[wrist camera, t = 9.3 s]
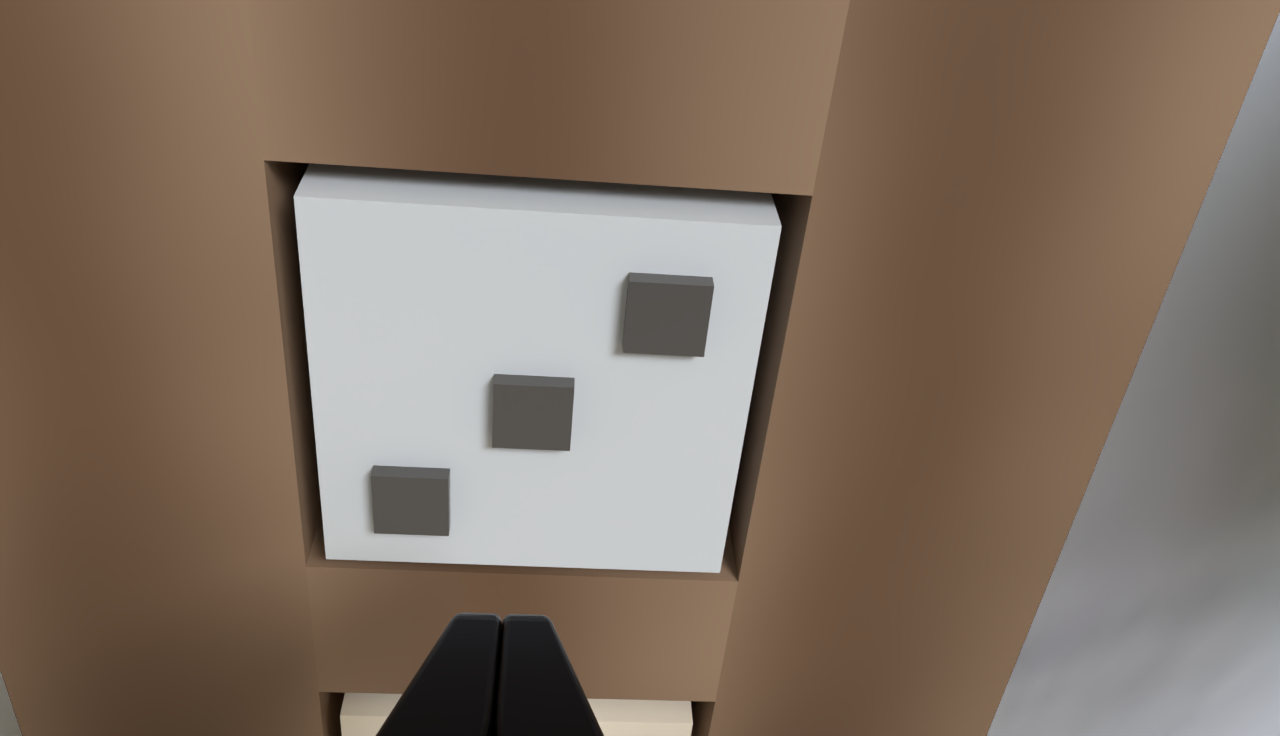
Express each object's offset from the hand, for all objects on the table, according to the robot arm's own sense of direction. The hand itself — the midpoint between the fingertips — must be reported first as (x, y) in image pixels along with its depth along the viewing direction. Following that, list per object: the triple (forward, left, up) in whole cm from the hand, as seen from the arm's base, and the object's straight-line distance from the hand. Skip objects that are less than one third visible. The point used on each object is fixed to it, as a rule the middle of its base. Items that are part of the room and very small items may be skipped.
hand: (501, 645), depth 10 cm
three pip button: (0, 0, -6) cm, 6 cm away
